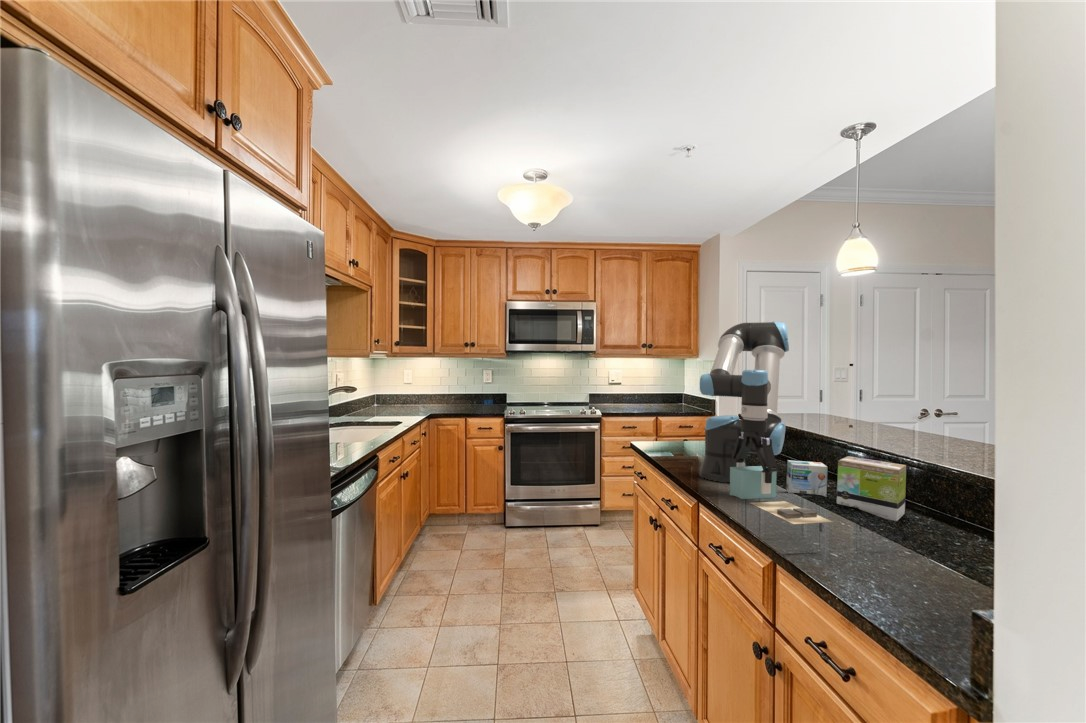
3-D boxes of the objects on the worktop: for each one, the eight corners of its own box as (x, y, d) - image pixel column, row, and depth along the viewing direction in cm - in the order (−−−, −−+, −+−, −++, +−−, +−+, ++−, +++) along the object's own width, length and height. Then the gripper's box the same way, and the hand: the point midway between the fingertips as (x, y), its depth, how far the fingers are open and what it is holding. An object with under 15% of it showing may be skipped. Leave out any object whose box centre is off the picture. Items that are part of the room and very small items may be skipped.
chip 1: (777, 513, 127) (777, 509, 127) (789, 513, 128) (790, 508, 128) (787, 518, 123) (787, 514, 123) (800, 517, 124) (800, 513, 124)
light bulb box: (790, 497, 149) (791, 463, 149) (785, 491, 155) (786, 459, 155) (827, 500, 146) (828, 466, 146) (821, 494, 152) (821, 462, 152)
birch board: (749, 507, 137) (749, 502, 137) (785, 506, 139) (785, 501, 139) (793, 529, 119) (793, 524, 119) (833, 527, 121) (833, 521, 121)
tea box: (835, 508, 138) (836, 459, 138) (845, 502, 144) (846, 455, 144) (898, 522, 126) (899, 468, 126) (906, 514, 133) (906, 463, 133)
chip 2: (793, 512, 128) (793, 508, 128) (805, 512, 129) (805, 507, 129) (803, 517, 124) (803, 513, 124) (816, 517, 125) (816, 512, 125)
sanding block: (729, 498, 147) (730, 466, 147) (763, 496, 149) (763, 465, 149) (741, 504, 141) (741, 471, 141) (775, 502, 143) (776, 470, 143)
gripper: (721, 414, 156) (720, 478, 156) (769, 424, 132) (767, 499, 132) (741, 414, 157) (740, 477, 157) (792, 423, 134) (790, 498, 134)
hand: (752, 487), depth 145 cm, fingers open, 12 cm apart
